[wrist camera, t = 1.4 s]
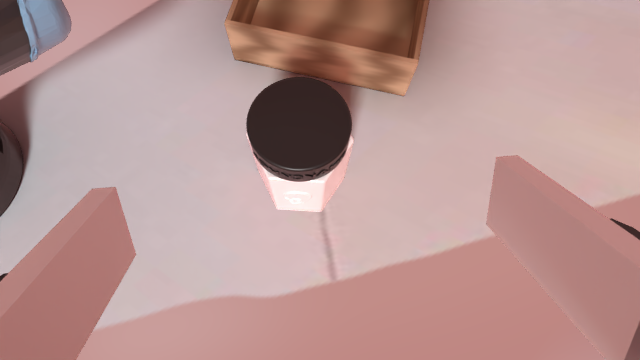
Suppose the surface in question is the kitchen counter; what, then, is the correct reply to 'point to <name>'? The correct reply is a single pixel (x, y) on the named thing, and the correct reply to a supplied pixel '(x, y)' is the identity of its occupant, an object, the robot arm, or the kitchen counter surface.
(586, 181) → the kitchen counter surface
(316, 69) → the open wooden box
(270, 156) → the jar
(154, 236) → the kitchen counter surface
